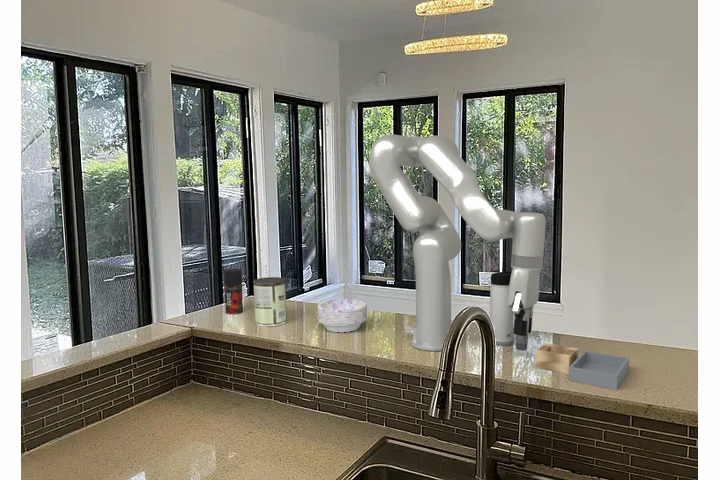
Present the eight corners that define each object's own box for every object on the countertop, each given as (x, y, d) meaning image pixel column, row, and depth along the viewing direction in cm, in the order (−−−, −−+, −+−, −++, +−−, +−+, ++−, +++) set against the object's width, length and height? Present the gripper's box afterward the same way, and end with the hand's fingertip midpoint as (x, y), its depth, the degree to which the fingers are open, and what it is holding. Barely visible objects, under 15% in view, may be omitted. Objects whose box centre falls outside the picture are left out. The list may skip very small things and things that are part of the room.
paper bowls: (322, 337, 158) (321, 311, 157) (314, 324, 173) (313, 300, 172) (372, 333, 162) (372, 307, 161) (360, 320, 177) (360, 296, 176)
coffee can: (260, 318, 182) (259, 276, 180) (290, 319, 180) (289, 277, 179) (250, 326, 172) (248, 282, 170) (281, 327, 170) (280, 283, 168)
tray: (568, 380, 122) (568, 367, 122) (584, 362, 133) (584, 350, 133) (616, 390, 116) (617, 376, 116) (628, 370, 128) (629, 358, 127)
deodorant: (223, 314, 188) (221, 271, 186) (228, 310, 194) (226, 268, 192) (240, 314, 187) (238, 271, 186) (245, 310, 193) (243, 268, 192)
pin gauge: (513, 349, 138) (516, 303, 136) (517, 345, 140) (520, 300, 139) (525, 351, 136) (528, 305, 134) (529, 348, 139) (532, 302, 137)
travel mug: (515, 346, 147) (516, 273, 145) (490, 345, 149) (491, 273, 146) (513, 339, 153) (514, 269, 151) (489, 338, 155) (490, 269, 152)
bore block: (534, 367, 131) (534, 351, 130) (544, 358, 137) (545, 343, 137) (568, 374, 126) (569, 357, 126) (577, 364, 132) (578, 348, 132)
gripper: (523, 256, 144) (519, 323, 146) (500, 264, 131) (495, 338, 133) (552, 259, 140) (547, 329, 142) (531, 268, 127) (526, 344, 129)
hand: (522, 332), depth 138 cm, fingers closed on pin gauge, 2 cm apart
